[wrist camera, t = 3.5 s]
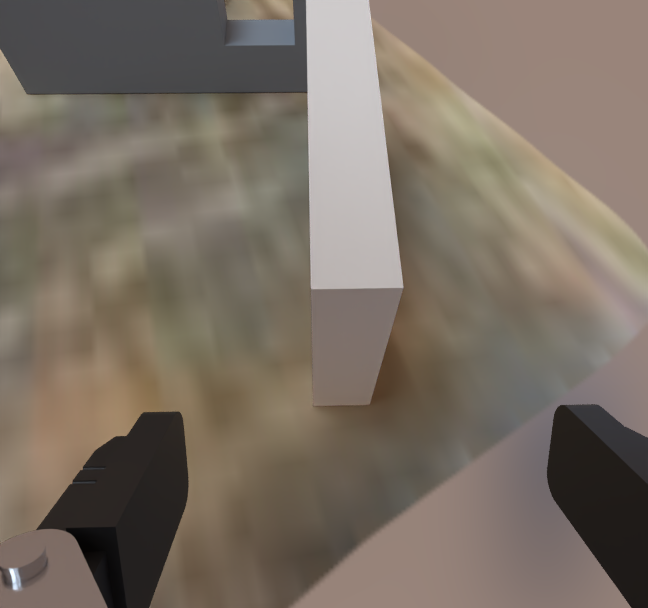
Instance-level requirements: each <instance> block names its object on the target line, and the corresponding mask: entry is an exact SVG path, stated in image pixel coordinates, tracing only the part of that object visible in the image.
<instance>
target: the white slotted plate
mask: <svg viewBox="0 0 648 608" xmlns="http://www.w3.org/2000/svg"><path fill="white" fill-rule="evenodd" d="M306 25H307V84H308V143H309V203H310V262H311V320H312V377H313V406H341V405H370V402H371V398H372V395H373V391H374V388H375V384H376V381H377V378H378V374H379V371H380V367H381V364H382V360H383V357H384V353H385V350H386V347H387V343H388V340H389V336H390V333H391V329H392V326H393V322H394V319H395V316H396V312H397V309H398V305H399V302H400V298H401V295H402V291H403V288H404V287H403V279H402V271H401V263H400V254H399V246H398V238H397V230H396V221H395V213H394V205H393V197H392V188H391V180H390V172H389V164H388V155H387V147H386V139H385V131H384V122H383V114H382V106H381V98H380V89H379V81H378V73H377V65H376V56H375V48H374V40H373V32H372V23H371V15H370V7H369V0H306Z"/></svg>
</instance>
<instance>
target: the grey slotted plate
mask: <svg viewBox="0 0 648 608" xmlns="http://www.w3.org/2000/svg"><path fill="white" fill-rule="evenodd" d="M293 10H294V20H227V14H226V8H225V2H224V0H0V49H1V51H2V52H3V54H4V56H5V57H6V59H7V61H8V63H9V64H10V66H11V68H12V69H13V71H14V73H15V74H16V76H17V78H18V80H19V81H20V83H21V85H22V86H23V88H24V90H25V92H26V93H27V94H85V93H221V92H308V84H307V25H306V0H293Z"/></svg>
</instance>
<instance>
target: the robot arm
mask: <svg viewBox="0 0 648 608" xmlns="http://www.w3.org/2000/svg"><path fill="white" fill-rule="evenodd" d="M547 478H548V485H549V489H550V492H551V494H552V497H553V498H554V500H555V502H556V503H557V505H558V506H559V507H560V509H561V510H562V511H563V513H564V514H565V516H566V517H567V519H568V520H569V521H570V523H571V524H572V525H573V527H574V528H575V530H576V531H577V532H578V534H579V535H580V537H581V538H582V539H583V541H584V542H585V544H586V545H587V546H588V548H589V549H590V551H591V552H592V553H593V555H594V556H595V557H596V559H597V560H598V562H599V563H600V564H601V566H602V567H603V569H604V570H605V571H606V573H607V574H608V576H609V577H610V578H611V580H612V581H613V582H614V584H615V585H616V586H617V588H618V589H619V591H620V592H621V594H622V595H623V596H624V598H625V599H626V601H627V602H628V603H629V605H630V606H631V608H648V438H647V437H645V436H643V435H641V434H639V433H637V432H635V431H633V430H631V429H629V428H627V427H624V426H623V425H622V424H621V423H620V422H618V421H617V420H616V419H615V418H614V417H612V416H611V415H610V414H609V413H608V412H607V411H605V410H604V409H603V408H602V407H600V406H599V405H595V404H594V405H593V404H591V405H560V406H559V407H558V408H557V409H556V411H555V414H554V420H553V427H552V435H551V444H550V451H549V459H548V467H547ZM187 496H188V468H187V457H186V446H185V436H184V425H183V418H182V415H181V413H180V412H144V413H142V414H141V416H140V417H139V419H138V420H137V422H136V423H135V425H134V426H133V428H132V429H131V431H130V432H129V434H128V435H127V436H116V437H114V438H113V439H111V440H110V441H108V442H107V443H106V444H104V445H103V446H101V447H100V448H98V449H97V450H95V452H94V453H93V454H92V456H91V457H90V458H89V460H88V461H87V462H86V464H85V465H84V466H83V470H80V472H79V473H78V474H77V476H76V477H75V478H74V480H73V484H70V485H69V486H68V488H67V489H66V491H65V492H64V493H63V495H62V496H61V497H60V499H59V500H58V501H57V503H56V504H55V505H54V507H53V508H52V509H51V511H50V512H49V513H48V515H47V516H46V517H45V519H44V520H43V521H42V523H41V524H40V525H39V527H38V528H37V529H36V530H35V531H31V532H27V533H23V534H21V535H18V536H15V537H13V538H10V539H8V540H6V541H4V542H2V543H1V544H0V608H149V606H150V603H151V600H152V598H153V595H154V592H155V589H156V587H157V584H158V581H159V578H160V576H161V573H162V570H163V567H164V565H165V562H166V559H167V556H168V553H169V551H170V548H171V545H172V542H173V540H174V537H175V534H176V531H177V529H178V526H179V523H180V520H181V518H182V515H183V512H184V509H185V506H186V502H187Z"/></svg>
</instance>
